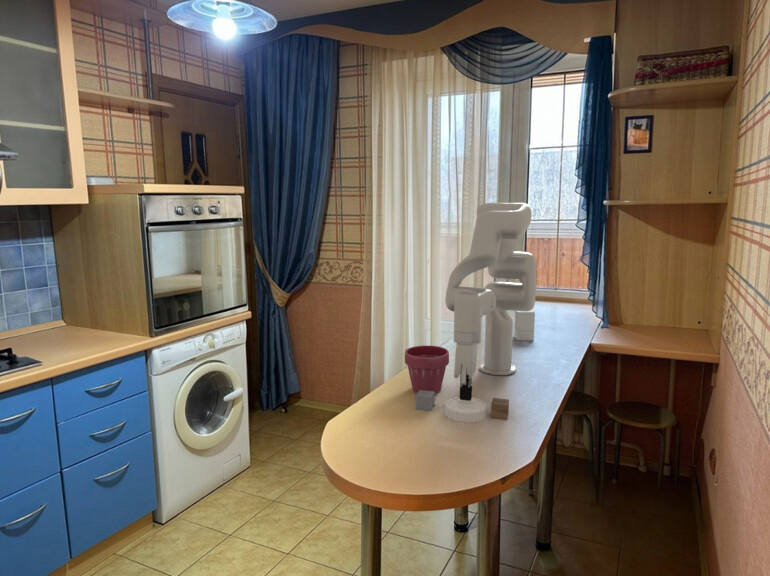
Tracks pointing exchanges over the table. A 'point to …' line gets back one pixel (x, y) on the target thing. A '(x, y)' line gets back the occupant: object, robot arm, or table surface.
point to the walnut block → (500, 408)
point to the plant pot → (426, 367)
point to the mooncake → (465, 410)
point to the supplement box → (524, 325)
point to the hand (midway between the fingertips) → (465, 399)
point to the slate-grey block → (425, 400)
